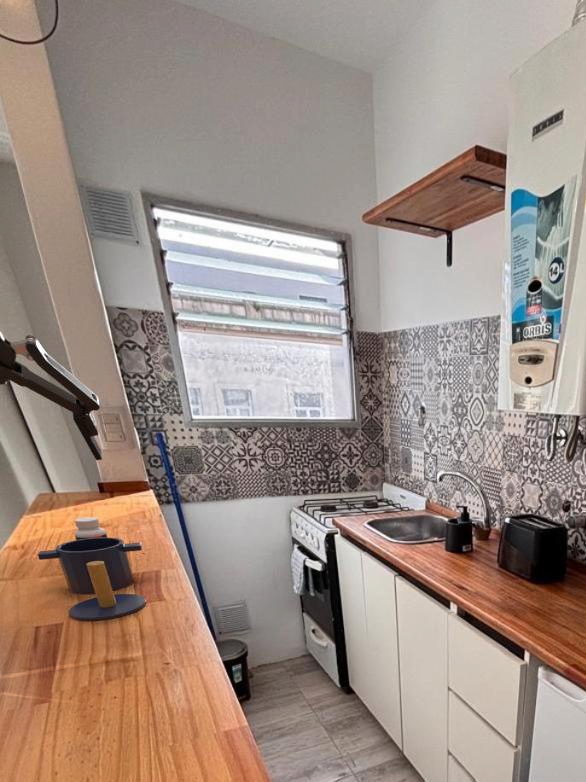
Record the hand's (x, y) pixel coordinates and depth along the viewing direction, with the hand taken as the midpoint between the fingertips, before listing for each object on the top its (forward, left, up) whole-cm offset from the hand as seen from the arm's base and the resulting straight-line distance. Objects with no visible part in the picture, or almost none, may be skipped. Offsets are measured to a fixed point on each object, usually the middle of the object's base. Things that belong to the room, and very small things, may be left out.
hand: (45, 463), depth 75 cm
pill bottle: (-34, -2, -25) cm, 42 cm away
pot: (-17, 0, -25) cm, 30 cm away
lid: (-3, +2, -24) cm, 24 cm away
